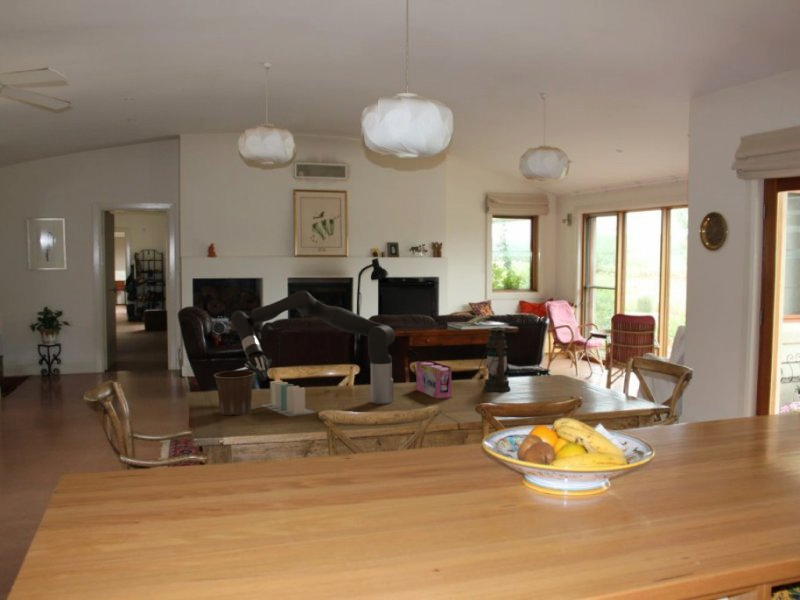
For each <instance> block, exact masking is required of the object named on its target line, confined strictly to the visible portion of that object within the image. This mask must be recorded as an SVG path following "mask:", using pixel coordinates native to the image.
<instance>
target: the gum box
mask: <svg viewBox="0 0 800 600" xmlns="http://www.w3.org/2000/svg"><path fill="white" fill-rule="evenodd" d="M415 367H416V372H415V373H416V376H415V377H416V391H418V392H421V393H423V394H425V395H427V396H430V397H432V398H435V399H446V398H452V367H451V366H448V365H446V364H443V363H442V364H441V363H439V362H437V361H432V360H423V361H419V360H418V361H416V364H415Z"/></svg>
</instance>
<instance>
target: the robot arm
mask: <svg viewBox="0 0 800 600" xmlns="http://www.w3.org/2000/svg"><path fill="white" fill-rule="evenodd" d="M291 310H297V311H298V312H299V313H300V314H301V315H305V316H309V317H312V318H314V319H318V320H320V321H322V322H323V323H325V324H327V325H330V326H332V327H333V328H336V329H338V330H340V331H343V332H346V333H351V334H356V335H360V336H365V337H367V347H368V348H367V349H368V350H367V351H368V357H369V360H370V403H372V404H374V405H375V404H378V405H385V404H390V403H391V404H392V402H393V401H394V379H393V363H392V362H393V359H392V358H393V357H392V356H391V355H390V353H389V351H388V347H389V346H390V345H392V344H393V343H394V342H395V339H396V334H395V331H394V330H393V328H392V327H390V326H389V325H386V324H383V323H379V322H376V321H372V320H370V319H367V318H366V317H364V316H361V315H359V314H356V313H355V312H352V311H350V310H348V309H346V308H343V307H341V306H340V307H339V306H336V305H335V306H334V305H333V306H332V305H327V304H324V302H320V301H319V300H317V299H316V298H315V297H314V296H313V295H312V294H311V293H309V292H308V291H306V290H300V291H296V292H294V293H292V294H290V295H288V296H286V297H284V298H282V299H280V300H277V301H275V302H272V303H270V304H267V305H262V306H259V307H256V308H254V309H252V310H251V312H250V315H247V314H246V313H245V312H243V311H242V310H235V311H234V312H233V313H232V315H231V323H232V325H233V328H234V329H235V331H236V332H237V334H238V337H239V339H240V342H241V344H242V348H243V351H244V354H245V356H246V359H247V361H246V362H245V363H244V367H245V368H246V369H248V371H253V372H255V374H258V375H259V378H260V380H262V381H266V380H267V378H268V374H267V372H268V371H269V369H270V366H271V363H272V361H273V359H272V358H270V359H268V358H267V357H266V356H265V355H264V351H263V349H262V346H261V343H260V341H259V339H258V337H257V335H256V332H255V330H254V329H253V328H254V327H256V326H257V325H258V324H259V325H260V324H262V323H265V322H268V321H271V320H273V319H275V318H277V317H278V316H279V315H281V314H282V313H284V312H286V311H291ZM265 364H266V366H265Z"/></svg>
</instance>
